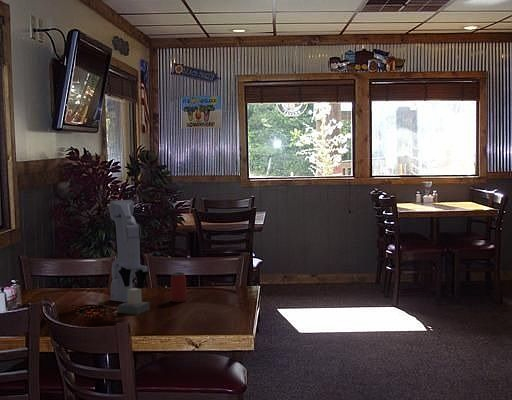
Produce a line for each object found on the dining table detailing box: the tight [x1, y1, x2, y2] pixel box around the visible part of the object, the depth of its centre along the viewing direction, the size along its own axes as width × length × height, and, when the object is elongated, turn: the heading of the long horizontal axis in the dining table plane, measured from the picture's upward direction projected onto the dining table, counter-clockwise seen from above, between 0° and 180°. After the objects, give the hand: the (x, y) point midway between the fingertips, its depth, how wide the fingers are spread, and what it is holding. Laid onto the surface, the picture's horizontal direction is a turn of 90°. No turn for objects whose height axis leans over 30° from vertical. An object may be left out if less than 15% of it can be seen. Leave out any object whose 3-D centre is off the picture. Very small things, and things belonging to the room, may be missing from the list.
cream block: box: [127, 287, 143, 305], centre depth 278 cm, size 4×4×6 cm
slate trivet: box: [117, 301, 151, 315], centre depth 278 cm, size 9×9×3 cm
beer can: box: [170, 272, 187, 303], centre depth 296 cm, size 7×7×12 cm
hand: (133, 287), depth 277 cm, fingers open, 7 cm apart
